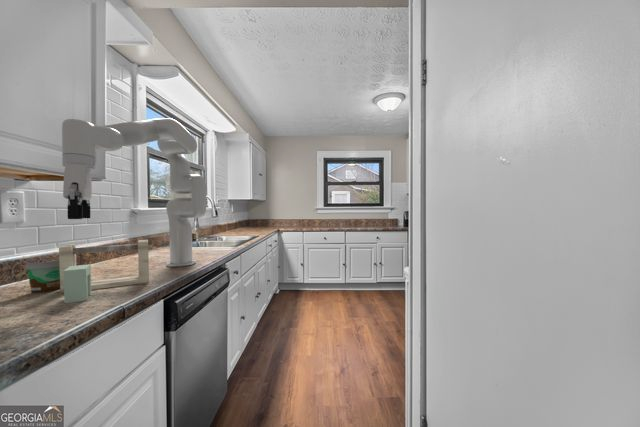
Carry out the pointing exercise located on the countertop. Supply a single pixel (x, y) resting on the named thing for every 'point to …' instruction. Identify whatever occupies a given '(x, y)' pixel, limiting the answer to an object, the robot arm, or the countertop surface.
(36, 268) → the food container
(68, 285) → the sage green brick
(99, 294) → the countertop surface
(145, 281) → the shelf stand
